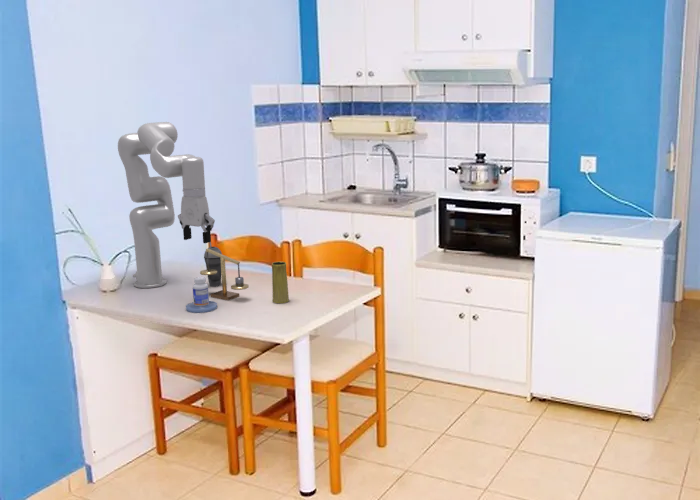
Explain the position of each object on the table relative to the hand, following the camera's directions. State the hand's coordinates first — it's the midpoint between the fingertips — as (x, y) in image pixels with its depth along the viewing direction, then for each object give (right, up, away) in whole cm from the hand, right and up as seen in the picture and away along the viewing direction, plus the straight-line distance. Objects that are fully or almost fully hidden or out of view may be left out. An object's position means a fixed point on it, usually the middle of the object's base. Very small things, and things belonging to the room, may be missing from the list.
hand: (197, 240), depth 270 cm
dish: (+1, -24, +3) cm, 24 cm away
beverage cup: (0, -17, +33) cm, 37 cm away
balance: (+7, -21, +16) cm, 27 cm away
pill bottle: (+1, -23, +2) cm, 23 cm away
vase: (+29, -22, +9) cm, 37 cm away
